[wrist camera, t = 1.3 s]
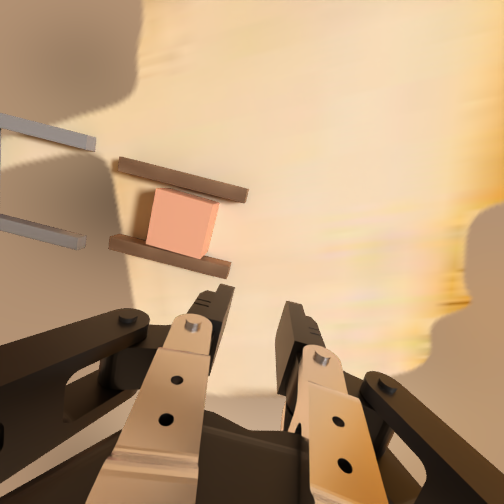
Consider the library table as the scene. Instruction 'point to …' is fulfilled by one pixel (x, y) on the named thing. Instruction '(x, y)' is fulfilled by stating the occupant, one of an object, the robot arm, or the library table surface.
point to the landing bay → (32, 228)
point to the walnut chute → (186, 181)
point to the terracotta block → (181, 222)
